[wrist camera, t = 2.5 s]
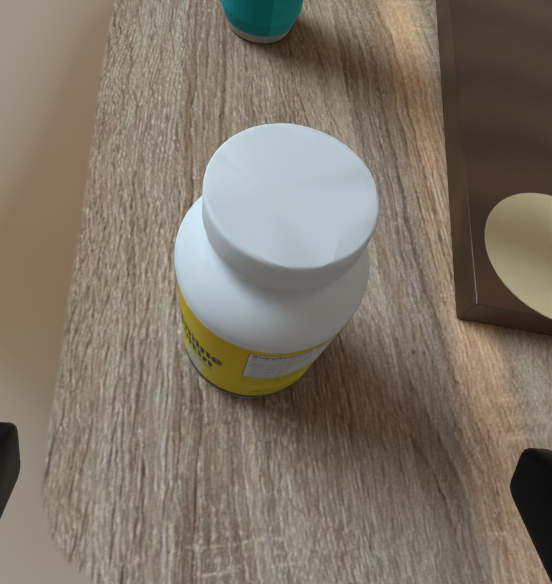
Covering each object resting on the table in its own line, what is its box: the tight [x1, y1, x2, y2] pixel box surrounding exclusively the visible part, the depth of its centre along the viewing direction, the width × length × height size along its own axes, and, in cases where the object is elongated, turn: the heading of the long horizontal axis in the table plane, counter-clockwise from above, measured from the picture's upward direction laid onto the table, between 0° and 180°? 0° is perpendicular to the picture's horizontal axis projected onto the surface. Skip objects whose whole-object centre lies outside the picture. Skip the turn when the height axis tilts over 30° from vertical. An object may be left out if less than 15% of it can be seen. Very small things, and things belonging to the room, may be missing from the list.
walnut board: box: [436, 0, 552, 335], centre depth 31 cm, size 34×14×2 cm, turn 173°
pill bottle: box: [174, 123, 380, 398], centre depth 16 cm, size 6×6×12 cm
